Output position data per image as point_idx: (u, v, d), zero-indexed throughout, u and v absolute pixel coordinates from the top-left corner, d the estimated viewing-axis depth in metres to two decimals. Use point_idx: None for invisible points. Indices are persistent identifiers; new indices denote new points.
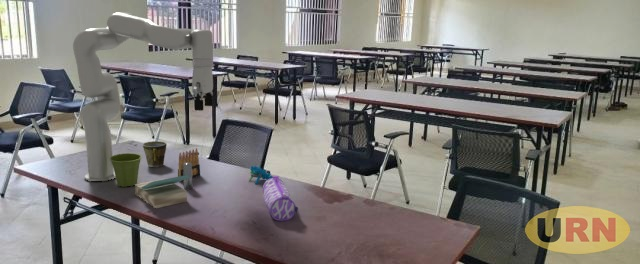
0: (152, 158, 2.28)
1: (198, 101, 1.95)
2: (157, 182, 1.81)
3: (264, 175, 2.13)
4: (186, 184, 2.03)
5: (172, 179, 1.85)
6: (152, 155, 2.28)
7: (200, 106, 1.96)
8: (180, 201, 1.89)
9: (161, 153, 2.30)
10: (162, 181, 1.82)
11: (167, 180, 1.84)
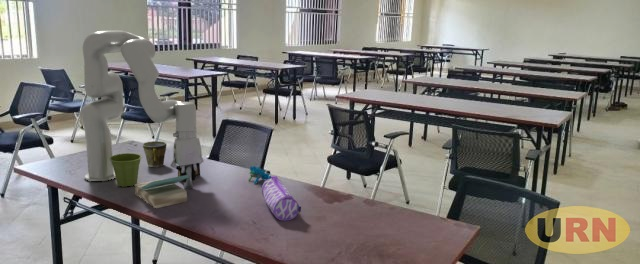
0: (152, 158, 2.28)
1: None
2: (157, 182, 1.81)
3: (263, 175, 2.13)
4: (186, 184, 2.03)
5: (172, 179, 1.85)
6: (152, 155, 2.28)
7: None
8: (180, 201, 1.89)
9: (161, 153, 2.30)
10: (162, 181, 1.82)
11: (167, 180, 1.84)
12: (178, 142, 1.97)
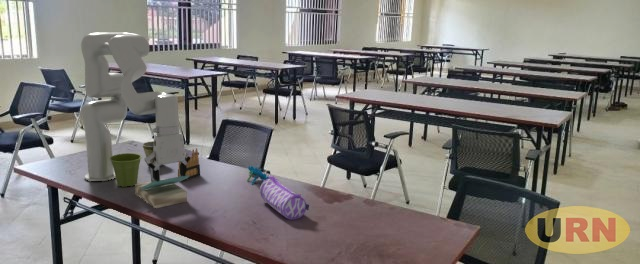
0: (152, 158, 2.28)
1: None
2: (157, 182, 1.81)
3: (261, 176, 2.12)
4: None
5: (172, 179, 1.85)
6: None
7: None
8: (180, 201, 1.89)
9: None
10: (162, 181, 1.82)
11: (167, 180, 1.83)
12: (158, 138, 1.78)
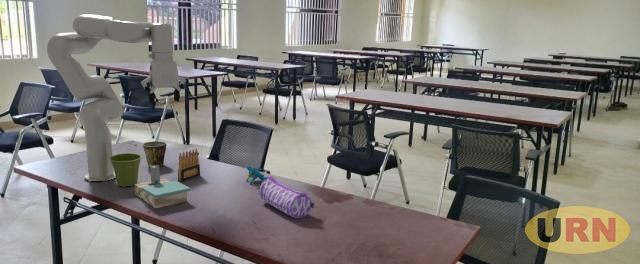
0: (152, 158, 2.28)
1: None
2: (159, 196, 1.81)
3: (259, 176, 2.12)
4: None
5: (174, 192, 1.85)
6: (152, 155, 2.28)
7: None
8: (180, 201, 1.89)
9: (161, 153, 2.30)
10: (164, 195, 1.82)
11: (169, 194, 1.84)
12: (154, 63, 1.92)
